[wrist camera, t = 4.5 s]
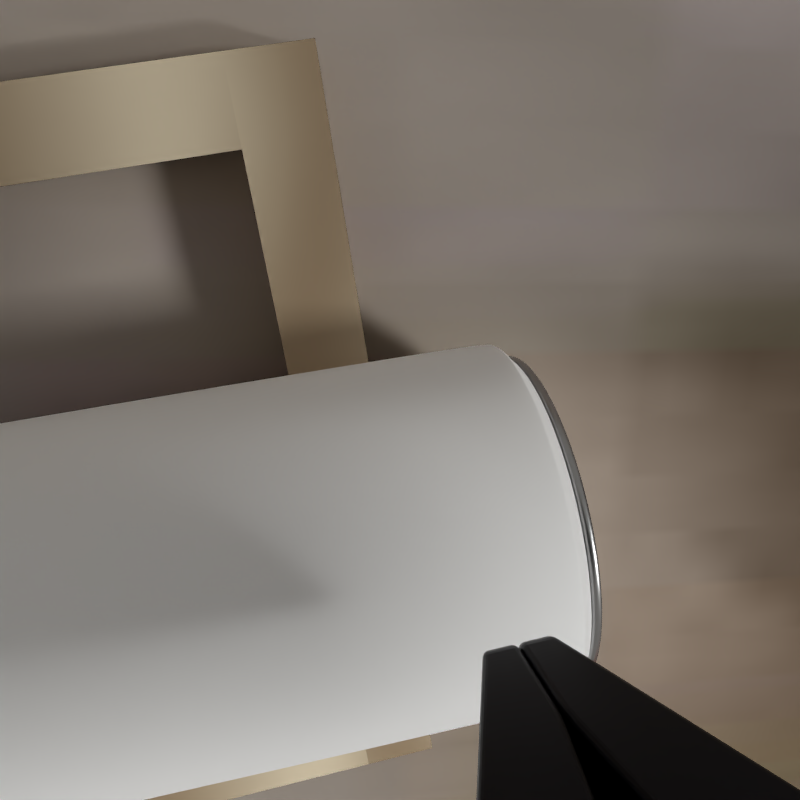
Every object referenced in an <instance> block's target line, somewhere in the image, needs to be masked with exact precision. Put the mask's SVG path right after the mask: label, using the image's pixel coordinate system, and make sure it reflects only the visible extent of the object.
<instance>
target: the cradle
mask: <svg viewBox="0 0 800 800" xmlns="http://www.w3.org/2000/svg"><path fill="white" fill-rule="evenodd" d="M235 150H242V152H243V157H244V162H245V167H246V172H247V176H248V181H249V186H250V191H251V196H252V201H253V206H254V210H255V215H256V220H257V225H258V230H259V235H260V239H261V244H262V249H263V254H264V259H265V264H266V269H267V273H268V278H269V283H270V288H271V293H272V298H273V302H274V307H275V312H276V317H277V322H278V327H279V332H280V336H281V341H282V346H283V351H284V356H285V361H286V365H287V370H288V375H293V374H299V373H305V372H311V371H317V370H324V369H330V368H336V367H342V366H348V365H354V364H361V363H367V362H368V356H367V350H366V344H365V338H364V332H363V326H362V320H361V314H360V308H359V302H358V296H357V290H356V284H355V278H354V272H353V266H352V260H351V254H350V248H349V242H348V236H347V230H346V223H345V217H344V211H343V205H342V199H341V193H340V187H339V181H338V175H337V169H336V163H335V157H334V151H333V145H332V139H331V133H330V127H329V121H328V115H327V109H326V103H325V96H324V90H323V84H322V78H321V72H320V66H319V60H318V54H317V48H316V42H315V38H312V39H305V40H297V41H290V42H283V43H276V44H269V45H261V46H254V47H247V48H240V49H232V50H225V51H218V52H211V53H203V54H196V55H189V56H182V57H174V58H167V59H160V60H153V61H146V62H138V63H131V64H124V65H117V66H109V67H102V68H95V69H88V70H80V71H73V72H66V73H59V74H51V75H44V76H37V77H30V78H22V79H15V80H8V81H1V82H0V187H1V186H8V185H14V184H21V183H27V182H34V181H40V180H47V179H53V178H60V177H66V176H73V175H79V174H86V173H92V172H99V171H105V170H112V169H118V168H125V167H131V166H138V165H144V164H151V163H157V162H164V161H170V160H177V159H183V158H190V157H196V156H203V155H209V154H216V153H222V152H229V151H235ZM430 748H432V744H431V737H430V735H426V736H422V737H418V738H413V739H409V740H405V741H400V742H396V743H392V744H387V745H383V746H379V747H374V748H370V749H365V750H361V751H357V752H352V753H348V754H344V755H339V756H335V757H331V758H326V759H322V760H317V761H313V762H309V763H304V764H300V765H296V766H291V767H287V768H282V769H278V770H274V771H269V772H265V773H260V774H256V775H252V776H247V777H243V778H238V779H234V780H230V781H225V782H221V783H216V784H212V785H208V786H203V787H199V788H194V789H190V790H185V791H181V792H177V793H172V794H168V795H163V796H159V797H155V798H150V799H146V800H229V799H233V798H236V797H240V796H244V795H248V794H252V793H256V792H260V791H264V790H268V789H272V788H276V787H280V786H284V785H288V784H292V783H296V782H300V781H304V780H308V779H312V778H315V777H319V776H323V775H327V774H331V773H335V772H339V771H343V770H347V769H351V768H355V767H359V766H363V765H367V764H371V763H375V762H379V761H383V760H387V759H391V758H395V757H398V756H402V755H406V754H410V753H414V752H418V751H422V750H426V749H430Z"/></svg>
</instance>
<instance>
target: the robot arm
mask: <svg viewBox="0 0 800 800" xmlns="http://www.w3.org/2000/svg"><path fill="white" fill-rule="evenodd" d="M476 800H800V790H799V789H797V788H796V787H794V786H793V785H791V784H789V783H788V782H786V781H785V780H783V779H781V778H780V777H778V776H777V775H775V774H773V773H772V772H770V771H769V770H767V769H765V768H764V767H762V766H761V765H759V764H757V763H756V762H754V761H753V760H751V759H749V758H748V757H746V756H745V755H743V754H741V753H740V752H738V751H737V750H735V749H733V748H732V747H730V746H729V745H727V744H725V743H724V742H722V741H721V740H719V739H717V738H716V737H714V736H713V735H711V734H709V733H708V732H706V731H705V730H703V729H701V728H700V727H698V726H697V725H695V724H693V723H692V722H690V721H689V720H687V719H685V718H684V717H682V716H681V715H679V714H677V713H676V712H674V711H673V710H671V709H669V708H668V707H666V706H665V705H663V704H661V703H660V702H658V701H657V700H655V699H653V698H652V697H650V696H649V695H647V694H645V693H644V692H642V691H641V690H639V689H637V688H636V687H634V686H633V685H631V684H629V683H628V682H626V681H625V680H623V679H621V678H620V677H618V676H617V675H615V674H613V673H612V672H610V671H609V670H607V669H605V668H604V667H602V666H601V665H599V664H597V663H596V662H594V661H593V660H591V659H589V658H588V657H586V656H585V655H583V654H581V653H580V652H578V651H577V650H575V649H573V648H572V647H570V646H569V645H567V644H565V643H564V642H562V641H561V640H559V639H557V638H555V637H552V636H546V637H542V638H538V639H533V640H529V641H525V642H522V643H521V644H520V646H519V648H518V647H517V646H515V645H509V646H505V647H500V648H496V649H492V650H488V651H486V652H485V653H484V655H483V660H482V682H481V705H480V728H479V752H478V775H477V798H476Z"/></svg>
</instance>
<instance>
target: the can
mask: <svg viewBox="0 0 800 800" xmlns="http://www.w3.org/2000/svg"><path fill="white" fill-rule="evenodd" d="M601 629H602V598H601V583H600V573H599V564H598V557H597V550H596V544H595V538H594V532H593V527H592V522H591V517H590V513H589V508H588V504H587V500H586V496H585V492H584V488H583V484H582V480H581V477H580V473H579V470H578V467H577V463H576V460H575V457H574V454H573V451H572V448H571V445H570V443H569V440H568V437H567V435H566V432H565V429H564V427H563V424H562V422H561V420H560V417H559V415H558V413H557V411H556V409H555V407H554V404H553V402H552V401H551V399H550V397H549V395H548V393H547V391H546V390H545V388H544V386H543V385H542V383H541V381H540V380H539V379H538V377H537V376H536V375H535V373H534V372H533V371H532V370H531V369H530V367H529V366H528V365H526V364H525V363H524V362H523V361H521V360H520V359H518V358H515V357H512V356H508V355H507V354H506V353H504V352H503V351H502V350H501V349H499V348H498V347H496V346H493V345H477V346H470V347H463V348H455V349H449V350H442V351H436V352H430V353H423V354H417V355H410V356H404V357H398V358H391V359H385V360H379V361H373V362H367V363H361V364H354V365H348V366H342V367H336V368H330V369H324V370H317V371H311V372H305V373H299V374H293V375H287V376H281V377H275V378H269V379H263V380H257V381H251V382H245V383H239V384H232V385H226V386H220V387H214V388H208V389H202V390H196V391H190V392H184V393H178V394H172V395H166V396H160V397H154V398H148V399H142V400H136V401H130V402H124V403H118V404H112V405H106V406H100V407H94V408H88V409H83V410H77V411H71V412H65V413H59V414H53V415H47V416H41V417H35V418H29V419H23V420H17V421H12V422H6V423H0V800H146V799H150V798H155V797H159V796H163V795H168V794H172V793H177V792H181V791H185V790H190V789H194V788H199V787H203V786H208V785H212V784H216V783H221V782H225V781H230V780H234V779H238V778H243V777H247V776H252V775H256V774H260V773H265V772H269V771H274V770H278V769H282V768H287V767H291V766H296V765H300V764H304V763H309V762H313V761H317V760H322V759H326V758H331V757H335V756H339V755H344V754H348V753H352V752H357V751H361V750H365V749H370V748H374V747H379V746H383V745H387V744H392V743H396V742H400V741H405V740H409V739H413V738H418V737H422V736H426V735H430V734H435V733H439V732H443V731H448V730H452V729H456V728H461V727H465V726H469V725H474V724H478V723H480V705H481V682H482V660H483V655H484V653H485V652H486V651H488V650H492V649H496V648H500V647H505V646H509V645H515V646H517V647H518V648H519V646H520V644H521V643H522V642H525V641H529V640H533V639H538V638H542V637H546V636H552V637H555V638H557V639H559V640H561V641H562V642H564V643H565V644H567V645H569V646H570V647H572V648H573V649H575V650H577V651H578V652H580V653H581V654H583V655H585V656H586V657H588V658H589V659H591V660H593V661H594V662H596V660H597V657H598V653H599V647H600V641H601Z"/></svg>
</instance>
